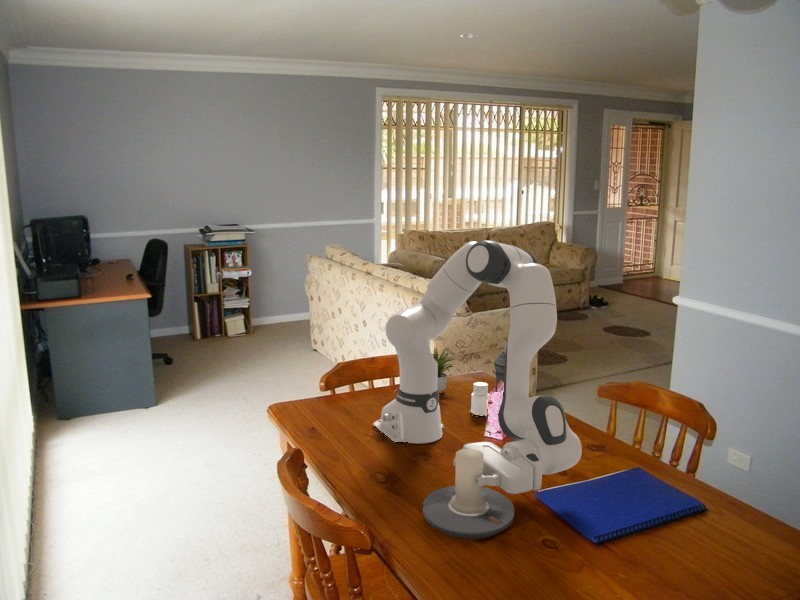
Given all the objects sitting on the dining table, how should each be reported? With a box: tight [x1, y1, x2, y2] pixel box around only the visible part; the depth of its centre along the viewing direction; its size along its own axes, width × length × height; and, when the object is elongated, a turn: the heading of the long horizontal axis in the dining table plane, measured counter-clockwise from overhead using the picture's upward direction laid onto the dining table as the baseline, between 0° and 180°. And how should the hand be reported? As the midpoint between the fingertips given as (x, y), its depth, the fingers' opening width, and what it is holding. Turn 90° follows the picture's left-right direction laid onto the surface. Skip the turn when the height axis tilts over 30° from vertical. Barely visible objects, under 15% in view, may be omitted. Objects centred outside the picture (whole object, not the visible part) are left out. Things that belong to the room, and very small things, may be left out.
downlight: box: [470, 381, 490, 417], centre depth 208 cm, size 8×7×10 cm
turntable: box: [422, 485, 515, 537], centre depth 143 cm, size 20×20×2 cm
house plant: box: [431, 347, 459, 391], centre depth 228 cm, size 14×14×16 cm
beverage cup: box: [493, 340, 507, 386], centre depth 224 cm, size 7×7×20 cm
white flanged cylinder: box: [451, 448, 486, 514], centre depth 142 cm, size 8×8×12 cm
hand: (465, 472), depth 141 cm, fingers open, 8 cm apart
